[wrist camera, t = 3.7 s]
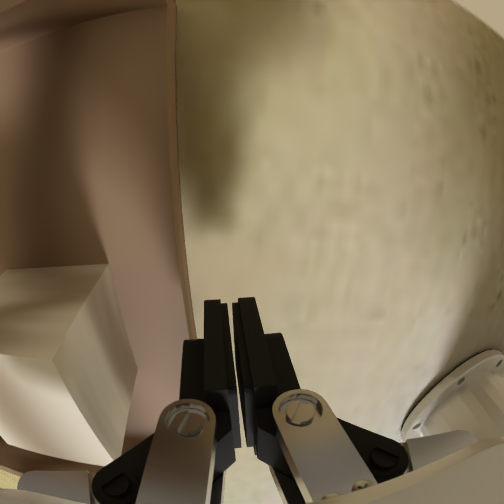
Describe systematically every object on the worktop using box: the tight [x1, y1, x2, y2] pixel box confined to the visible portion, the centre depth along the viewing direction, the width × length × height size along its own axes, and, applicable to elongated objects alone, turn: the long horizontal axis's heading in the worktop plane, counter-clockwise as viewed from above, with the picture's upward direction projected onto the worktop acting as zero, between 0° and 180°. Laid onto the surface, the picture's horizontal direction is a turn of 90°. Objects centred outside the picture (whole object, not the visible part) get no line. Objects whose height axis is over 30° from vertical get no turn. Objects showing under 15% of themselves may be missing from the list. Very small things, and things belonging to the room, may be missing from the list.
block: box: [0, 264, 138, 466], centre depth 8 cm, size 5×5×5 cm
